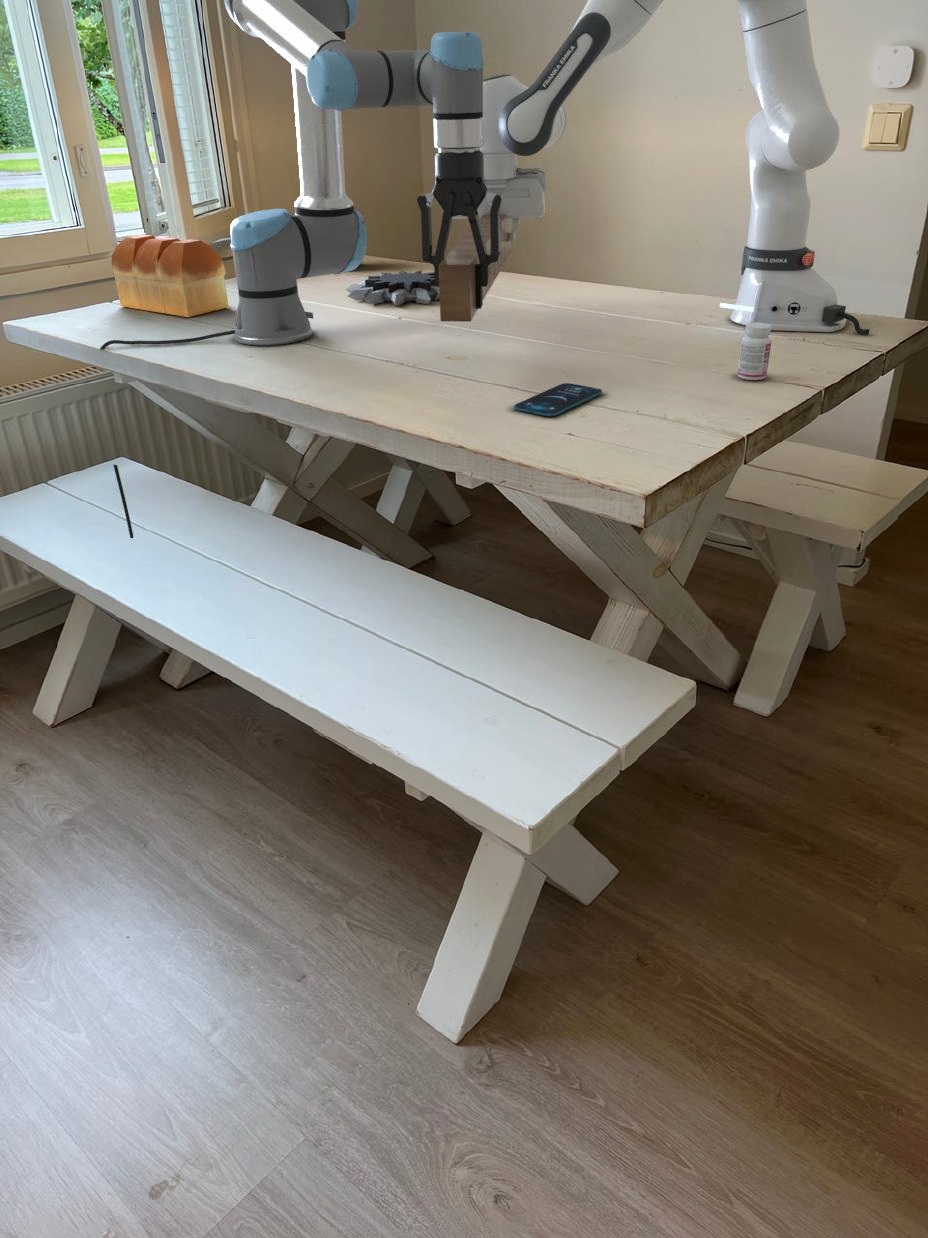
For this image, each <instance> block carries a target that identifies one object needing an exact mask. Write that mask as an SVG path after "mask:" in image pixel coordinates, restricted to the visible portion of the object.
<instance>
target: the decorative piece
mask: <svg viewBox="0 0 928 1238" xmlns="http://www.w3.org/2000/svg"><path fill="white" fill-rule="evenodd" d="M345 291H347V292H348V293H350V294H348V295H347V297H348V298H350V299H352V300H354V301H358V302H359V301H364V302H366V303H367V304H369V305H375V304H383V303H385V302H392V303H393V304H394V305H395V306H396V307H398V306H400V305H403V304H405V302H416V304H425V305H428V304H429V303H430V302H431V300H432V299H433V300H434V301H440V292H439V286H436V285H435V274H434V271H431V272H425V273H423V272H422V269H420V270H416V271H414V272H407V271H405V270H401V271H399V272H398V273H392V272H381V275H367V278H364V279H363V280H361V281H360V282H359V283H353V284H351V285H350V286H348V287H347V288H346V289H345Z"/></svg>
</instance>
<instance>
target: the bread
mask: <svg viewBox="0 0 928 1238" xmlns="http://www.w3.org/2000/svg"><path fill="white" fill-rule="evenodd" d="M111 274H112V275H113V276H114V279H115V285H116V289H117V295H118V299H119V304H120V307H124V308H129V309H135V310H141V311H142V310H143V311H147V312H148V311H149V312H155V313H161V314H165V315H166V314H168V315H172V316H173V315H174V316H180V317H185V318H191V317H195V316H198V315H203V314H207V313H211V312H215V311H219V310H222V309H227V308H230V306H229V299H228V293H227V286H226V280H225V279H226V278H225V275H226V274H227V271H226V268H225V265H224V262H223V259H222V256H221V255H220V254H219V253H218V252H217V251H216V250H215V248H213V247H212V246H210V245H209V244H207V243H206V242H204V241H202V240H199V239H191V238H190V239H184V240H181V239H179V238H177V237H167V236H166V237H165V236H161V237H155V236H154V235H151V234H150V235H148V234H139V235H133V236H132V235H131V236H126V237H124V238H123V239H122V240H121V241H120V242H119V243H118V244H117V245H116V246H115V248H114V250H113V252H112V254H111Z"/></svg>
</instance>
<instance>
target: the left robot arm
mask: <svg viewBox="0 0 928 1238" xmlns="http://www.w3.org/2000/svg"><path fill="white" fill-rule="evenodd" d="M223 2H224V6H225V9H226V10H227V13H228V15H229V17H230V18H231V20H233V22H234V23H235V24H236V25H237V26H238V27H239V28H240V29H241V30H242V31H243V32H245V34H248V35H249V36H252V37H255V38H261V39H262V40H264V41H265V43H267V44H268V45H269V46H270V47H272V48H273V49H274V50H275V51H276V52H277V53H278V54H280V56H282V57H283V58H284V59H285V60H287V61H288V62H289V63H290V64H291V74H292V75H291V76H292V88H293V99H294V101H293V102H294V113H295V127H296V138H297V139H296V140H297V153H298V165H299V166H298V167H299V168H298V169H299V179H300V180H299V181H300V196H298V198H297V199H295V201H294V215H291V214H290V212H289V210H288V209H285V208H270V209H263V210H257V211H253V212H249V213H246V214H243V215H240V216H238V217H236V218H235V219H234V220H232V222H231V224H230V228H229V231H230V233H229V234H230V248H231V252H232V259H233V264H234V271H235V272H234V273H235V278H236V279H235V280H236V286H237V293H238V307H237V312H236V318H235V319H236V320H235V323H234V329H232V330H226V331H221V332H216V333H212V334H207V335H201V336H197V337H189V338H180V339H167V340H166V339H165V340H164V339H163V340H123V339H122V340H121V339H111V340H108V341H106V342H104V343H103V345H101V347H100V348H99V350H105V349H106V348H107V347H108V346H111V345H118V344H119V345H131V346H132V345H174V344H184V343H193V342H198V341H204V340H205V341H206V340H209V339H213V338H219V337H224V336H229V335H234V337H235V341H236V342H238V343H240V344H243V345H248V346H279V345H286V344H287V345H288V344H292V343H293V344H294V343H297V342H301V341H305V340H306V339H308V338H310V337H311V336H312V327H311V322H310V320H309V319H311V320H312V319H314V312H310V311H306V310H305V308H304V306H303V303H302V301H301V299H300V296H299V290H298V289H299V288H298V280H300V279H307V278H315V277H320V276H329V275H330V276H331V275H334V276H337V275H338V276H339V275H341V274H343V273H347V272H352V271H354V270H356V269H357V268H358V267H359V266H360V265H361V264H362V262H363V260H364V258H365V256H366V252H367V246H368V232H367V226H366V225H365V220H364V217H363V216H362V214H361V212H359V211H358V210H356V209H355V207H354V206H355V204H354V201H353V200H352V199H351V198H350V197H349V196H348V195H347V193H346V178H345V177H346V176H345V160H344V142H343V141H344V139H343V122H342V111H346V110H359V109H361V110H362V109H374V108H375V109H376V108H377V109H378V108H395V107H396V108H398V107H399V108H401V107H422V106H425V107H426V106H428V107H430V106H432V109H433V111H432V112H433V143H434V145H433V146H434V148H435V149H436V150H437V151H438V152H435V154H434V174H435V183H434V186H433V188H432V191H430V192H427V193H421V194H420V195H418V196H417V198H416V201H417V205H418V208H419V210H420V219H421V220H420V221H421V224H420V225H421V251H422V252H421V253H422V254H421V255H422V257H421V258H422V261H423V262H424V263H429V264H431V265H432V266H433V270H434V271H433V272H434V274H435V285H436V286H439V264H440V263H441V261H442V260H443V259H444V258H445V256H446V255H445V254H446V250H447V246H448V241H449V240H448V239H449V235H450V231H451V226H452V222H453V219H452V218H453V216H458V215H461V216H468V219H467V220H468V223H469V225H470V229H471V230H472V234H473V238H474V242H475V246H476V250H477V254H478V258H479V261H480V264H477V266H476V267H475V270H476V309H478V310H481V308H482V307H483V306H484V305H483V304H484V302H483V301H484V300H483V296H482V287H487V285H488V283H489V264H491V263H493V262H497V261H498V259H499V257H500V217H499V209H500V206H501V203H502V200H503V195H502V194H500V193H499V194H495V193H493V192H490V191H487V187H486V186H485V183H484V154H482V152H481V151H480V148H481V147H482V146H483V118H482V117H483V79H484V66H485V64H484V63H485V62H484V60H483V45H482V44H483V43H482V38H481V36H480V34H479V33H477V32H476V31H445V32H444V31H443V32H436V33H434V34H433V35H432V37H431V40H430V49H404V50H403V49H401V50H400V49H399V50H398V49H397V50H359V49H355V48H353V47H352V46H351V45H349V44H348V43H346V42H347V41H346V40H347V39H346V31H347V30H349V29H350V28H352V27H353V26H354V24H355V22H356V16H357V13H358V0H223ZM484 198H486V199H487V201H488V203H487V204H488V206H489V207H490V208H491V211H490V233H491V254H489V255H488V253H487V249H486V245H485V241H484V237H483V233H482V229H481V225H480V221H479V215H478V211H477V209H478V207H479V206H480V204H481V203H482V201H483V200H484ZM434 199H435V201H436V202H437V203H438V205H439V206H440V207H441V209H442V210H443V212H442V217H441V224H440V229H439V234H438V239H437V244H436V248H435V253H433V230H432V229H433V228H432V227H433V226H432V225H433V224H432V209H431V208H432V207H433V206H434ZM112 466H113V469H114V473H115V478H116V481H117V486H118V489H119V493H120V497H121V503H122V506H123V510H124V516H125V519H126V525H127V529H128V534H129V538H133V537H134V532H133V527H132V522H131V518H130V517H131V516H130V513H129V509H128V504H127V500H126V496H125V492H124V487H123V483H122V480H121V476H120V471H119V466H118V465H117V464H113V465H112ZM134 538H135V537H134Z"/></svg>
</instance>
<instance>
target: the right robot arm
mask: <svg viewBox="0 0 928 1238" xmlns="http://www.w3.org/2000/svg"><path fill="white" fill-rule="evenodd" d="M663 2H664V0H587V2H586V3H585V5H584V8H583V9H582V11H581V13H580V14H579V16H578V18H577V20H576V22H575V24H574V25H573V27H572V28H571V30H570V33H569V34H568V36H567V37H566V39H565V40H564V41H563V42H562V44H561V46H559V48H558V50H557V51H556V52H555V54H554V55H553V57H552V58H551V59H550V60H549V62H548V63H547V64H546V66H545V68H544V69H543V70H542V71H541V73H540V74H539V75H538V77H537V78H536V80H534V82H533V83H532V85H530V86H527V85H525V84H524V83H522V82H521V81H519V80H518V79H517V78H516V77H515V76H514V75H513V74H508V73H507V74H499V75H494V76H490V77H486V78H483V117H482V118H483V146H482V147H481V148H480V151H481V152H482V154H484V183H485V186H486V187H487V191H490V192H493V193H495V194H499V193H500V194H502V195H503V200H502V203H501V206H500V209H499V215H507V218H512V225H514V227H513V228H512V232H508V233H507V237H508V238H507V242H511V243H515V241H516V232H517V230H518V228H519V226H520V224H521V219H541V218H542V217H543V216H545V213H546V200H545V191H546V189H547V186H548V177H547V174H546V172H545V171H544V170H542V169H540V168H539V167H531V168H529V167H518V156H519V157H530V156H532V155H536V154H538V153H539V152H540V151H543V150H545V149H547V148H548V149H549V148H550V147H551V146H553V145H554V144H556V143H557V142H558V141H559V140H560V138H561V137H562V136H563V134H564V132H565V129H566V125H567V116H566V111H565V108H564V106H563V104H564V103H565V102H566V101H567V99H568V98H569V96H570V95H571V94H572V92H574V90H575V89H576V87H577V86H578V85H579V83H580V82H581V81H582V79H583V78H584V77H585V75H586V74H587V73H588V72H589V71H590V70H591V68H593V67H594V66H595V65H596V64H597V63H599V62H600V61H601V60H602V59H605V58H606V57H607V56H609V55H611V54H614V53H616V52H617V51H620V50H621V49H623V48H625V46H627V45H628V44H629V43H630V42H631V41H632V40H633V39H634V38H636V36H637V35H638V34H639V33H640V32H641V31H642V30H643V28H644V27H645V26H646V25H647V24H648V22H649V21H650V20H651V18H652V17H653V15H654V14H655V13H656V12H657V10H658V9H659V7H660V6H661V4H662V3H663ZM735 2H736V5H737V8H738V11H739V16H740V17H739V18H740V26H741V31H742V38H743V45H744V52H745V53H744V54H745V59H746V66H747V73H748V78H749V81H750V83H751V85H752V87H753V88H754V90H755V92H756V95H757V98H758V100H759V103H760V106H761V109H760V110H759V111H757V112H756V113H755V114H754V115H753V116H752V118H751V119H750V120H749V122H748V124H747V126H746V129H745V134H744V142H745V146H746V149H747V153H748V158H749V159H748V161H749V163H748V164H749V165H748V167H749V183H750V211H749V223H748V230H747V239H746V245H745V246H744V247H743V252H742V257H741V267H740V271H741V272H740V274H741V275H740V276H741V280H740V285H739V289H738V293H737V296H736V300H735V304H729V303H725V302H724V303H723V302H720V303H719V307H720V308H724V309H732V311H731V314H730V316H729V319H730V320H731V321H732V322H734V323H736V324H738V325H743V326H746V324H748V323H766V324H770V325H771V331H784V332H785V331H790V332H817V333H833V332H837V331H840V330H842V329H844V328H845V327H846V325H847V320H848V321H850V322H851V323H852V324H853V326H854V331H855V332H856V333H857V334H859V335H869V334H870V328H861V326H860V321H859V320H858V318H857V317H855V316H854V315H851V314H849V313H847V312H846V308H847V306H846V305H842V304H838V297H837V292H836V290H835V288H834V287H833V285H832V284H830V283H829V282H828V281H827V280H826V279H825V278H824V277H822V275H820V274H819V273H818V272H817V271H816V270H815V269H814V268H813V267H814V262H815V252H816V251H815V250H814V249H812V250H811V249H810V248H809V247H807V246H806V241H807V235H808V228H809V221H810V214H811V207H812V206H811V203H812V202H811V198H810V196H809V192H808V186H807V185H808V184H807V173H806V171H809V170H813V169H815V168H818V167H820V166H822V165H823V164H825V163H826V162H827V161H829V159H830V158H831V157H832V156H833V155H834V153H835V151H836V150H837V147H838V144H839V140H840V127H839V123H838V120H837V119H836V118H835V116H834V115H833V113H832V111H831V110H830V107H829V104H828V102H827V99H826V96H825V92H824V89H823V86H822V83H821V79H820V76H819V74H818V69H817V66H816V62H815V57H814V52H813V45H812V37H811V30H810V23H809V22H810V21H809V13H808V5H807V0H735ZM487 203H488V201H487V199H486V198H484V200H483V201H482V203H481V204H480V206H479V207H478V209H477V211H478V215H479V219H480V218H481V217H482V216H483V215H490V211H491V208H490V207H489V206H488V204H487ZM457 219H458V220H468V216H461V215H458V216H453V218H452V220H457Z"/></svg>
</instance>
